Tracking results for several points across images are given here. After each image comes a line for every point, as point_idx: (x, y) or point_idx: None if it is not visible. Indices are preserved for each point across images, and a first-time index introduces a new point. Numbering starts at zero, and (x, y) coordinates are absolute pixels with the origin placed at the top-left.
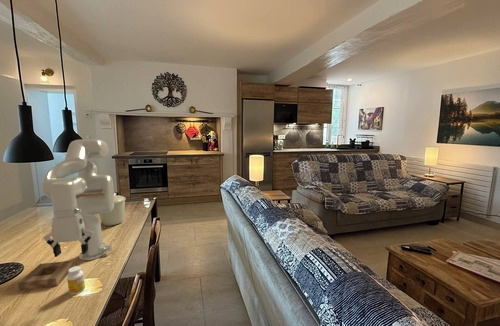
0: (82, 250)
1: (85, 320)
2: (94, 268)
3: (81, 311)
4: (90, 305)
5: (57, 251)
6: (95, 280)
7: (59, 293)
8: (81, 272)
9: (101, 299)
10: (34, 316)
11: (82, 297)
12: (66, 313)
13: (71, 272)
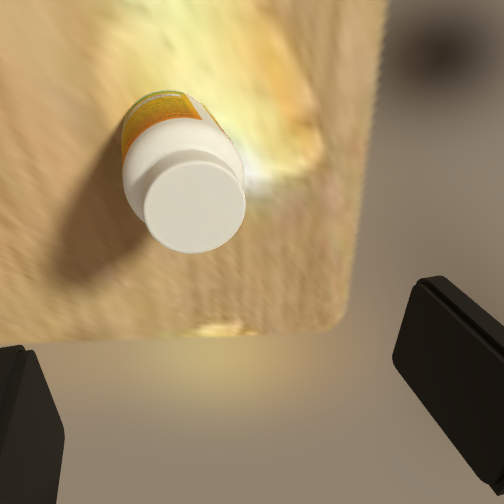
0: (434, 404)
1: (308, 330)
2: None
3: (275, 293)
4: (300, 263)
5: (44, 491)
6: (247, 26)
7: (55, 153)
8: (237, 173)
9: (337, 230)
10: (68, 318)
11: None
12: (216, 302)
13: (194, 250)
